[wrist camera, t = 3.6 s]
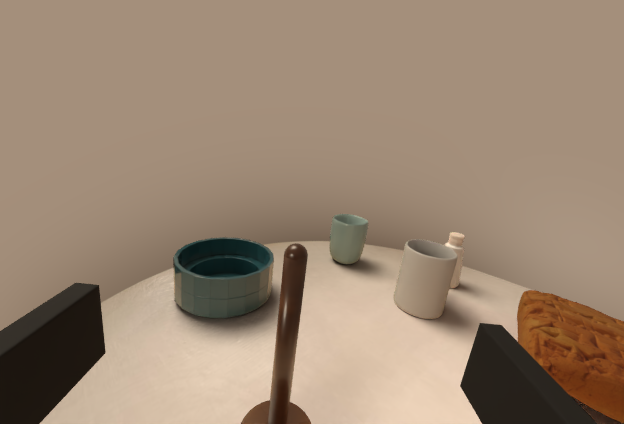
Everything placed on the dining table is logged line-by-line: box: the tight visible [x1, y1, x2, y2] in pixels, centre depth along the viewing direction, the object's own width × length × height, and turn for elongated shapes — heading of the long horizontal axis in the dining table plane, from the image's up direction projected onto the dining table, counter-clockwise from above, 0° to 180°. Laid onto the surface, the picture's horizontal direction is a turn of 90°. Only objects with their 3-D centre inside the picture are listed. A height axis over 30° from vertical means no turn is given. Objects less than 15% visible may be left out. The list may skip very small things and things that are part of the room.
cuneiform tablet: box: [517, 290, 624, 423], centre depth 38 cm, size 22×17×8 cm
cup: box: [330, 214, 368, 264], centre depth 65 cm, size 8×8×10 cm
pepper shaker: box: [444, 232, 465, 288], centre depth 60 cm, size 5×5×11 cm
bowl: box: [173, 238, 274, 318], centre depth 47 cm, size 15×15×7 cm
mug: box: [394, 240, 458, 319], centre depth 52 cm, size 12×8×11 cm
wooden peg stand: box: [241, 244, 311, 424], centre depth 22 cm, size 6×6×20 cm
